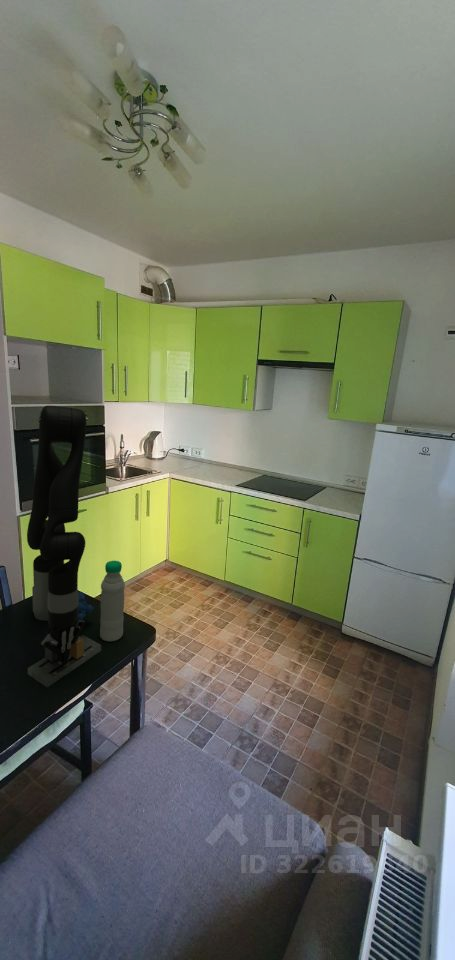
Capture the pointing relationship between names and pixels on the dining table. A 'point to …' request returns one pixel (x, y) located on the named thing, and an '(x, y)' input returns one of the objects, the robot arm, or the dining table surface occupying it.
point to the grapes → (83, 607)
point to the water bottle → (112, 602)
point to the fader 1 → (50, 653)
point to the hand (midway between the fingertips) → (63, 660)
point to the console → (62, 664)
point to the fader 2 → (77, 648)
